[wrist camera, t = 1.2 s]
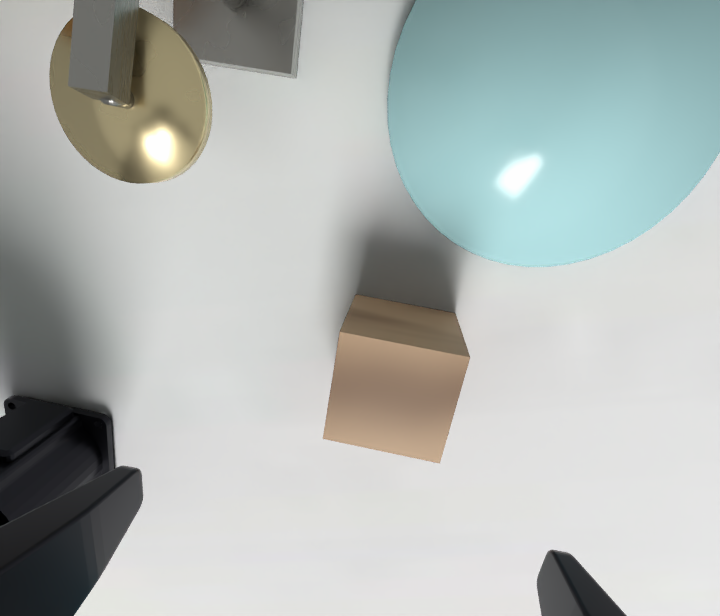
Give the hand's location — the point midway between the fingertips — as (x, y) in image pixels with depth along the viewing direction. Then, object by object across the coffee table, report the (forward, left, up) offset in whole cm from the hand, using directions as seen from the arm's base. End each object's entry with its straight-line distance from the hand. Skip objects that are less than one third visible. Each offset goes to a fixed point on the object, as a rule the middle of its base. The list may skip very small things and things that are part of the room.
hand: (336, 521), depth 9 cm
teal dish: (+11, -5, -12) cm, 17 cm away
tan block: (-1, -1, -12) cm, 12 cm away
